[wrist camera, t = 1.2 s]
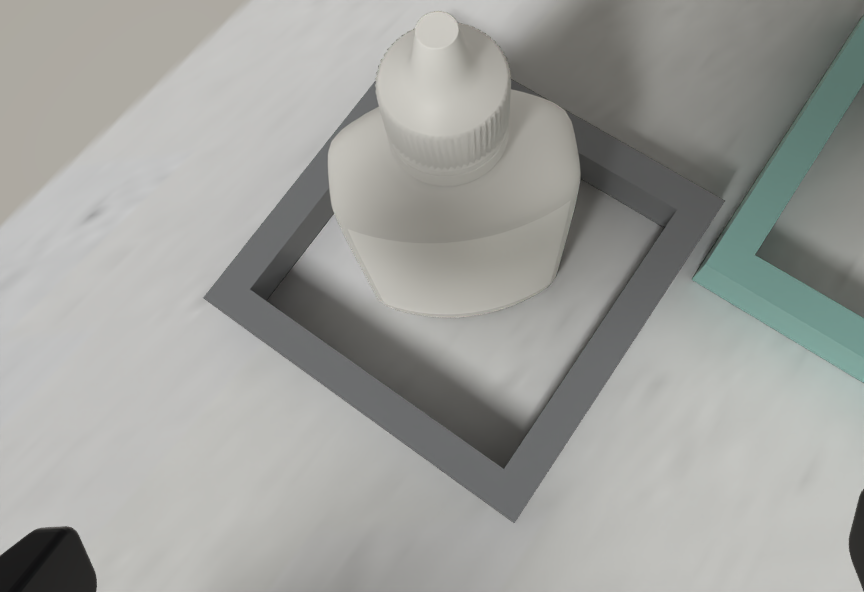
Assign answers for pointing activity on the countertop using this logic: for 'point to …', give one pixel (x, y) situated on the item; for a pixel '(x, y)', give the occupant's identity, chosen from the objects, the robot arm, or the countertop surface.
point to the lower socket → (737, 245)
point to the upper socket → (500, 488)
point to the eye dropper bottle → (454, 178)
